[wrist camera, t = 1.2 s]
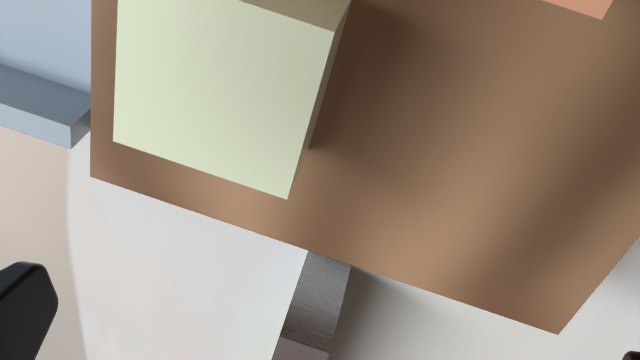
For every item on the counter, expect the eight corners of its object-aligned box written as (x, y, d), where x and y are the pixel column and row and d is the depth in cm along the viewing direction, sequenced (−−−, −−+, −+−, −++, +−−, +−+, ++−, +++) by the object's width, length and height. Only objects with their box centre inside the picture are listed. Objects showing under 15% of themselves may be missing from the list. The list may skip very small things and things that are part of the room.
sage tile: (353, -6, 15) (334, 32, 13) (307, 150, 18) (287, 199, 16) (166, -67, 15) (119, -40, 13) (152, 98, 18) (112, 141, 16)
